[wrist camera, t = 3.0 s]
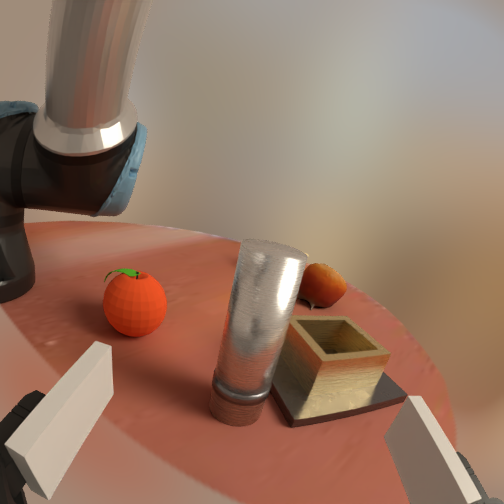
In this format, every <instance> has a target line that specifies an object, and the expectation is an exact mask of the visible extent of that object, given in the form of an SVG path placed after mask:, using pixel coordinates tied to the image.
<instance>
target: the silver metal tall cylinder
mask: <svg viewBox="0 0 504 504" xmlns="http://www.w3.org/2000/svg"><path fill="white" fill-rule="evenodd" d="M306 261H307V255H306V254H305V253H303V252H302V251H300V250H297V249H295V248H293V247H290V246H287V245H283V244H280V243H276V242H271V241H266V240H256V239H246V240H243V241H242V242H241V247H240V252H239V256H238V261H237V266H236V271H235V276H234V281H233V286H232V291H231V296H230V300H229V305H228V310H227V315H226V320H225V325H224V330H223V336H222V341H221V346H220V351H219V356H218V361H217V366H216V369H215V370H214V375H213V380H212V392H211V397H210V402H209V408H210V411H211V413H212V414H213V416H214V417H215V418H217V419H218V420H219V421H221V422H223V423H225V424H228V425H232V426H247V425H251V424H253V423H255V422H256V421H257V420H258V419H259V417H260V415H261V412H262V409H263V406H264V403H265V400H266V399H267V397H268V395H269V392H270V389H271V386H272V378H273V375H274V372H275V369H276V366H277V362H278V359H279V356H280V353H281V349H282V346H283V343H284V340H285V336H286V333H287V329H288V326H289V323H290V319H291V316H292V312H293V309H294V305H295V302H296V298H297V294H298V291H299V287H300V284H301V280H302V276H303V272H304V269H305V265H306Z"/></svg>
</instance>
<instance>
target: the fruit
mask: <svg viewBox="0 0 504 504" xmlns="http://www.w3.org/2000/svg"><path fill="white" fill-rule="evenodd" d="M346 290H347V285H346V283H345V281H344V279H343V277H342V276H341V275H340V274H338V273H337V272H336V271H335V270H334V269H332V268H331V267H329V266H328V265H326V264H317V263H315V264H311V265H309V266H308V267H307V268H306V269H305V271H304V272H303V276H302V280H301V284H300V287H299V296H298V299H305V300H307V301H308V302H309V303H310V305H311V309H310V310H312V308H313V307H314V306H321V307H325V308H326V307H331V306H332V305H333V304H334V303H336V302H337V301H338V300H339V299H340V298H341V297H342V296H343V295H344V293H345V292H346Z"/></svg>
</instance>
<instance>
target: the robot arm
mask: <svg viewBox="0 0 504 504" xmlns="http://www.w3.org/2000/svg"><path fill="white" fill-rule="evenodd" d="M152 2H153V0H53V1H52V8H51V15H50V22H49V32H48V42H47V56H46V83H45V84H46V85H45V92H46V93H45V94H46V95H45V97H46V98H45V100H46V102H45V103H44V104H43V105H42V106H41V108H40V109H39V110H38V106H37V105H36V104H35V103H32V102H26V101H13V102H10V101H1V102H0V303H2V302H6V301H9V300H12V299H15V298H17V297H19V296H21V295H23V294H25V293H26V292H27V291H29V290H30V289H31V288H32V286H33V285H34V283H35V265H34V261H33V257H32V254H31V251H30V247H29V244H28V240H27V237H26V233H25V229H24V208H28V209H39V210H48V211H56V212H65V213H73V214H81V215H89V216H92V217H96V216H117V215H119V214H121V213H122V212H123V211H124V210H125V209H126V207H127V205H128V203H129V200H130V198H131V195H132V192H133V188H134V185H135V182H136V177H137V172H138V170H139V166H140V164H141V160H142V156H143V152H144V148H145V143H146V137H147V128H146V127H145V126H144V125H142V124H140V123H138V122H137V111H136V108H135V106H134V105H133V103H132V102H131V101H130V100H129V99H128V98H127V96H128V92H129V87H130V83H131V78H132V74H133V69H134V65H135V61H136V57H137V53H138V49H139V45H140V41H141V38H142V34H143V30H144V27H145V24H146V21H147V17H148V14H149V11H150V8H151V5H152ZM113 394H114V392H113V375H112V346H110V345H107V344H104V343H101V342H98V341H95V342H94V343H93V344H92V345H91V347H90V348H89V349H88V350H87V351H86V352H85V353H84V354H83V355H82V356H81V357H80V358H79V359H78V360H77V362H76V363H75V364H74V365H73V366H72V367H71V368H70V369H69V370H68V371H67V372H66V373H65V375H64V376H63V377H62V378H61V379H60V380H59V381H58V382H57V383H56V385H55V386H54V387H53V388H52V389H51V390H50V391H49V392H48V394H47V395H45V394H43V393H41V392H39V391H37V390H36V391H33V392H32V393H29V394H27V395H25V396H24V397H23V398H22V399H21V400H20V402H19V403H18V405H16V406H15V407H14V408H13V409H12V411H11V412H9V413H8V414H7V416H6V417H5V418H4V419H3V420H2V421H1V422H0V504H27V501H26V497H25V494H24V491H23V489H22V488H23V486H24V485H25V483H27V485H28V486H29V488H30V489H31V490H32V491H33V492H35V493H37V494H38V495H40V496H42V497H44V498H46V499H47V500H50V498H51V497H52V495H53V493H54V491H55V490H56V488H57V486H58V484H59V483H60V481H61V479H62V478H63V476H64V474H65V472H66V471H67V469H68V467H69V466H70V464H71V462H72V461H73V459H74V457H75V456H76V454H77V452H78V450H79V449H80V447H81V446H82V444H83V442H84V441H85V439H86V437H87V436H88V434H89V433H90V431H91V429H92V428H93V426H94V424H95V423H96V421H97V420H98V418H99V416H100V415H101V413H102V412H103V410H104V408H105V407H106V405H107V404H108V402H109V401H110V399H111V397H112V396H113ZM384 438H385V441H386V443H387V446H388V448H389V451H390V453H391V456H392V458H393V461H394V463H395V466H396V468H397V471H398V473H399V476H400V478H401V481H402V483H403V486H404V489H405V491H406V494H407V496H408V499H409V502H410V504H504V503H503V502H502V501H501V500H500V499H498V498H490V499H489V497H488V496H487V494H486V492H485V490H484V489H483V487H482V485H481V483H480V481H479V480H478V478H477V476H476V475H474V471H473V469H472V468H471V466H470V464H469V463H468V461H467V459H466V458H465V457H464V456H463V455H461V454H460V453H459V452H455V450H454V448H453V447H452V445H451V443H450V442H449V440H448V438H447V437H446V435H445V434H444V432H443V430H442V429H441V427H440V425H439V424H438V422H437V421H436V419H435V417H434V416H433V414H432V413H431V411H430V410H429V408H428V406H427V405H426V403H425V402H424V400H423V399H422V397H421V396H408V397H407V399H406V401H405V403H404V404H403V406H402V408H401V410H400V411H399V413H398V415H397V416H396V418H395V420H394V421H393V423H392V424H391V426H390V428H389V429H388V431H387V432H386V434H385V436H384Z"/></svg>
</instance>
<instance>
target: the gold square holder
mask: <svg viewBox="0 0 504 504" xmlns="http://www.w3.org/2000/svg"><path fill="white" fill-rule="evenodd" d="M390 355H391V353H390V352H389V351H388V350H386V349H385V348H384V347H383V346H382V345H381V344H379V343H378V342H377V341H376V340H375V339H373V338H372V337H371V336H370V335H369V334H368V333H366V332H365V331H364V330H363V329H362V328H360V327H359V326H358V325H357V324H356V323H354V322H353V321H352V320H351V319H350V318H349V317H347V316H298V315H292V316H291V319H290V323H289V326H288V329H287V333H286V336H285V340H284V343H283V346H282V349H281V353H280V356H279V359H278V362H277V366H276V369H275V372H274V375H273V378H272V386H271V389H270V391H271V393H272V395H273V397H274V399H275V400H276V402H277V404H278V406H279V407H280V409H281V411H282V413H283V414H284V416H285V418H286V420H287V421H288V423H289V425H290V426H291V428H293V427H299V426H305V425H311V424H316V423H321V422H327V421H331V420H336V419H341V418H345V417H350V416H354V415H358V414H362V413H366V412H370V411H373V410H377V409H381V408H384V407H388V406H391V405H394V404H398V403H401V402H404V400H405V398H406V397H407V395H408V394H406V393H405V392H404V391H403V390H402V389H401V388H400V387H399V386H398V385H397V384H396V383H395V382H394V381H393V380H392V379H391V378H389V377H388V376H387V375H386V374H385V373H384V372H383V370H384V368H385V366H386V364H387V362H388V360H389V358H390Z"/></svg>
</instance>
